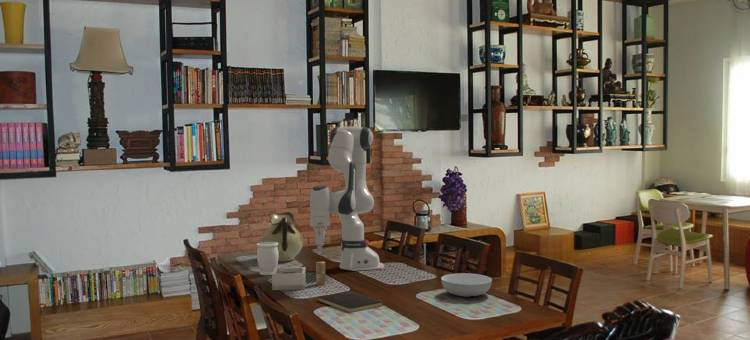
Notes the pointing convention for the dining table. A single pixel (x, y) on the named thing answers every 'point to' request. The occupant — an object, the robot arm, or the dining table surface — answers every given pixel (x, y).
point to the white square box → (289, 278)
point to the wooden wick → (320, 273)
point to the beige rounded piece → (284, 236)
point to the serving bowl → (466, 284)
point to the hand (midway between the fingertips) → (319, 252)
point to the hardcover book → (350, 301)
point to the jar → (267, 257)
